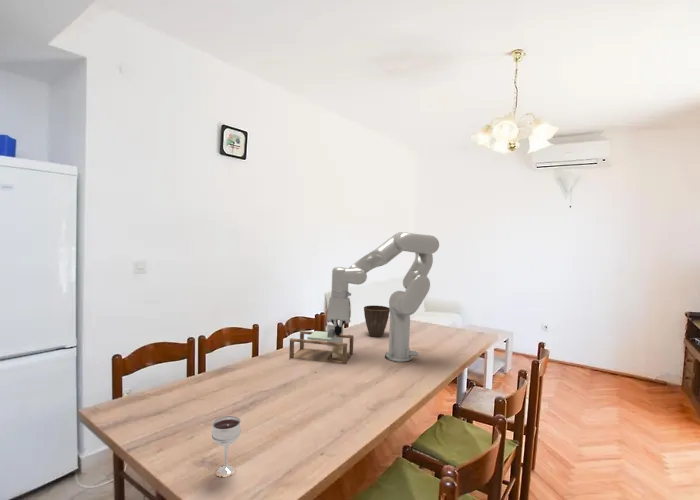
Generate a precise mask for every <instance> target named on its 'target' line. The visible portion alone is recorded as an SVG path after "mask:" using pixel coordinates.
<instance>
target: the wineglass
mask: <svg viewBox="0 0 700 500" xmlns="http://www.w3.org/2000/svg"><path fill="white" fill-rule="evenodd" d="M241 422H242V420H241V418H240V417H238V416H235V415H225V416H221V417H218V418H215V419H214V420H213V421H212V423H211V426H212V429H211V438H212V440H213V441H214V443H216V444H217V445H219V446H223V448H224V465H225V466H223V465H222V466H223V467H221V466H219V467H220V468H219V467H218V468H219V470H218V472H220V474H230V473H231V472H232V471H233V469H234V468H233V467H232V466H228V465H229V464H228V452H229V451H228V450H229V449H228V448H229V446H230V445H233V444H234V443H235V442H236V441H237V440H238V439H239V437H240V435H241V432H242V427H241V426H242V425H241Z"/></svg>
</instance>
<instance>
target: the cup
mask: <svg viewBox="0 0 700 500" xmlns="http://www.w3.org/2000/svg"><path fill="white" fill-rule="evenodd" d="M339 323H340V321H338V325H339ZM330 329H335V326H334V325H333V323H332V322H329V321H327V327H326V332H328V331H329V330H330ZM341 334H342V335H344V325H343V326H342V333H341ZM326 342H330V341H326ZM331 342H337V343H344V338H342V337H335V338H334V339H333V340H332V341H331ZM328 346H329V347H333V346H332V345H328Z"/></svg>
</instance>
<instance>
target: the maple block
mask: <svg viewBox="0 0 700 500" xmlns="http://www.w3.org/2000/svg"><path fill="white" fill-rule="evenodd" d="M335 343H337V342H335ZM331 347H332V350H331V351H332V358H339V359H343V347H342V346H331Z"/></svg>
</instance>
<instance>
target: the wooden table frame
mask: <svg viewBox="0 0 700 500" xmlns="http://www.w3.org/2000/svg"><path fill="white" fill-rule="evenodd" d="M313 332H314V331H307V330H300V331H299V338H293V337H292V338H290V339H289V352H288V353H289V355H288V357H289V361H290V360H291V359H294V360H295V359H296V360H305V361H315V362H324V363H333V364H343V365H347V363H348V362H349V360H350V359H351V357H352V356H353V354H354V338H355V337H354V335H351V334H343V335H342V334H340V335H339V336H338V335H337V336H336V337H342V338H343V339H349V349H348V343H345V342H343V343H335V342H327V341H320V340H309V339H305V335H308V336H309V335H311V334H312V333H313ZM295 343H299V349H298V350H297V351H296V352H295ZM305 343H306V344H312V345H313V344H314V345H322V346H323V345H324V346H329V345H332V346H331V347H333V346H342V347H343V359H339V358H332V350H323V349H313V348H305V346H304V345H305ZM348 350H349V351H348Z"/></svg>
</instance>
